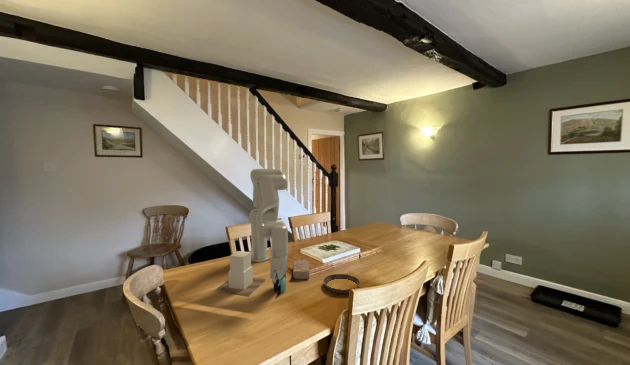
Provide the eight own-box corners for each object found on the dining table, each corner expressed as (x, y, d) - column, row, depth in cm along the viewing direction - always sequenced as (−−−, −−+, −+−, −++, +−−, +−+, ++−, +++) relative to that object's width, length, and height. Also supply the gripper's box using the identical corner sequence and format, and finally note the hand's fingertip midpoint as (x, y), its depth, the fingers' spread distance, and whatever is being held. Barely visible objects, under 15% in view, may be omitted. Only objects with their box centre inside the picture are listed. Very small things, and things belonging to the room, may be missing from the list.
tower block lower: (238, 280, 128) (238, 264, 127) (252, 282, 125) (252, 266, 125) (228, 287, 120) (228, 270, 119) (244, 289, 118) (243, 272, 117)
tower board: (235, 277, 134) (235, 275, 134) (266, 281, 129) (266, 279, 129) (212, 294, 116) (212, 291, 116) (248, 299, 112) (248, 296, 112)
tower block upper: (238, 265, 126) (238, 251, 126) (251, 266, 125) (250, 252, 124) (230, 270, 120) (229, 255, 119) (243, 272, 118) (243, 257, 117)
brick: (293, 267, 148) (293, 259, 148) (308, 267, 149) (308, 259, 148) (293, 280, 132) (293, 271, 132) (309, 280, 132) (309, 271, 132)
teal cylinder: (276, 287, 123) (276, 275, 123) (287, 289, 122) (287, 276, 121) (272, 292, 118) (272, 280, 118) (282, 294, 117) (282, 281, 116)
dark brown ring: (336, 276, 137) (336, 270, 137) (366, 285, 125) (366, 279, 125) (315, 288, 123) (315, 282, 123) (347, 300, 112) (347, 293, 112)
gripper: (279, 245, 128) (279, 281, 129) (263, 257, 111) (264, 298, 112) (293, 247, 126) (293, 283, 127) (279, 259, 109) (280, 300, 111)
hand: (279, 289), depth 120 cm, fingers closed on teal cylinder, 5 cm apart
